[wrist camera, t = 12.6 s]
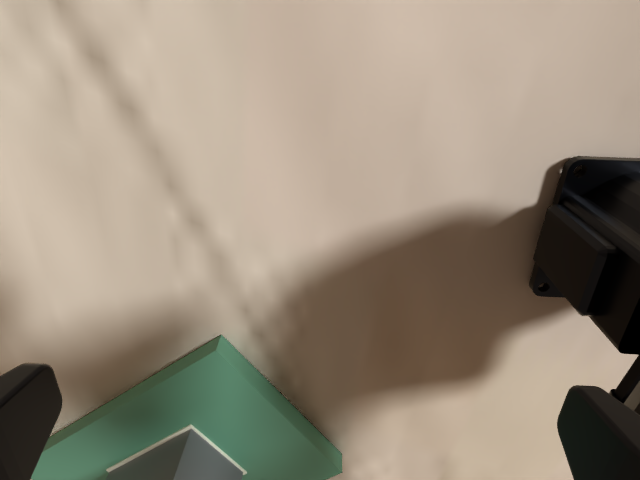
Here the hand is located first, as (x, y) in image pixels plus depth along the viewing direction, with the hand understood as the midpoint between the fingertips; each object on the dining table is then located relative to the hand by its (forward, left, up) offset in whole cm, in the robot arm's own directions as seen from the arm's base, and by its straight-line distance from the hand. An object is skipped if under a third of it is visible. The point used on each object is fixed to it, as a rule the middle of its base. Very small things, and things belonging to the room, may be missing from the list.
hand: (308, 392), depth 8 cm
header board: (+8, +18, -12) cm, 23 cm away
